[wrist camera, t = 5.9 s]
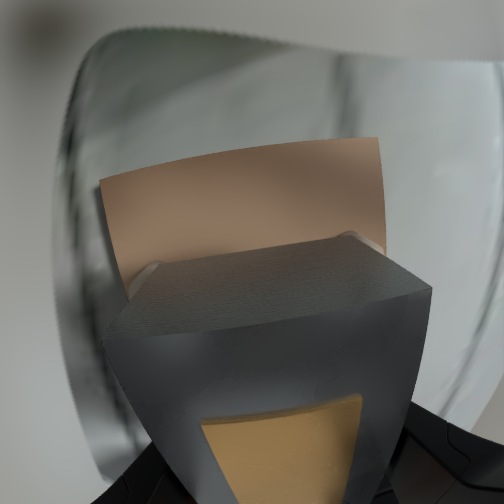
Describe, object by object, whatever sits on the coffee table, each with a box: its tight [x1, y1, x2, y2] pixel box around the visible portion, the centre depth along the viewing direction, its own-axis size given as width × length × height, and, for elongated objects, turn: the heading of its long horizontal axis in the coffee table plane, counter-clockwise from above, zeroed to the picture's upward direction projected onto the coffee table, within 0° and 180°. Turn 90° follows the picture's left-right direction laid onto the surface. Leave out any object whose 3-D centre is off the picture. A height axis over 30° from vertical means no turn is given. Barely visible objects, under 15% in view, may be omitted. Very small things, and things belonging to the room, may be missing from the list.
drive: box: [100, 235, 432, 504], centre depth 7 cm, size 10×6×4 cm, turn 8°
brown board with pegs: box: [99, 137, 386, 302], centre depth 12 cm, size 16×12×3 cm
